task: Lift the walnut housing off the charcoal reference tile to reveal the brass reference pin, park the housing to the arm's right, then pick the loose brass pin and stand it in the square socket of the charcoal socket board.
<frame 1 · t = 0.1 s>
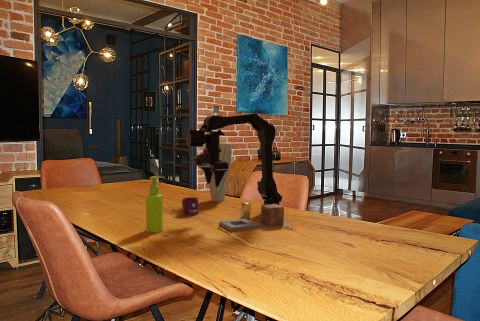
hand: (212, 185, 157), 15 cm above the table, fingers open, 9 cm apart
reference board: (272, 225, 151), on the table
vase: (218, 201, 204), on the table
socket board: (238, 228, 146), on the table
housing: (272, 223, 151), point 1 cm above the table, touching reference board
mug: (189, 213, 172), on the table
soap dispenser: (155, 230, 143), on the table
pin: (245, 219, 160), on the table
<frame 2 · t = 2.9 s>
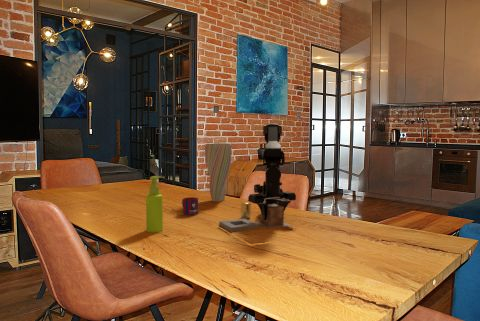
hand: (272, 219, 151), 2 cm above the table, fingers closed on housing, 6 cm apart
housing: (272, 223, 151), point 1 cm above the table, touching gripper, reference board
everything else where it was.
when the fingers open (3 cm above the table, at t = 7.6 s): housing drops 1 cm, on the table.
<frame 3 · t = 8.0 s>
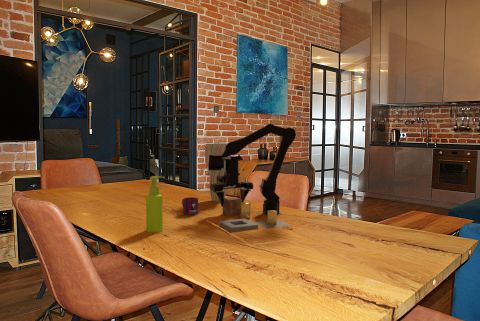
hand: (231, 205, 169), 4 cm above the table, fingers open, 9 cm apart
housing: (232, 214, 170), on the table
everything else where it was.
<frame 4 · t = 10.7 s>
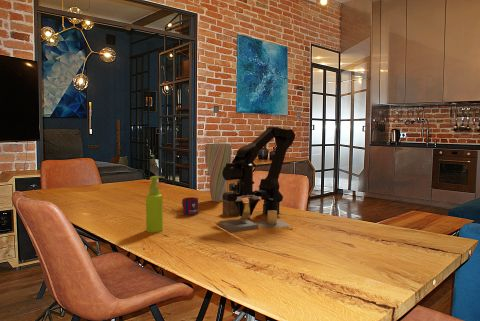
hand: (245, 215, 160), 2 cm above the table, fingers closed on pin, 4 cm apart
pin: (245, 219, 160), on the table, touching gripper
everything else where it was.
when the fingers open (3 cm above the table, at t = 14.4 s): pin drops 1 cm, resting in socket board.
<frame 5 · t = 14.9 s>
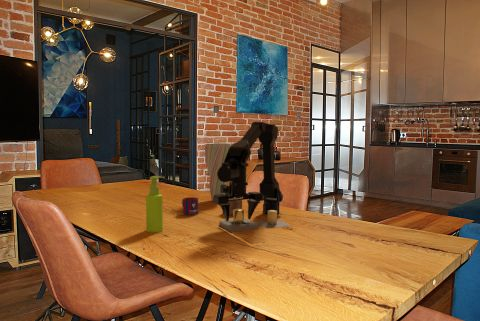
hand: (238, 220, 146), 3 cm above the table, fingers open, 9 cm apart
pin: (238, 228, 146), resting in socket board
everything else where it was.
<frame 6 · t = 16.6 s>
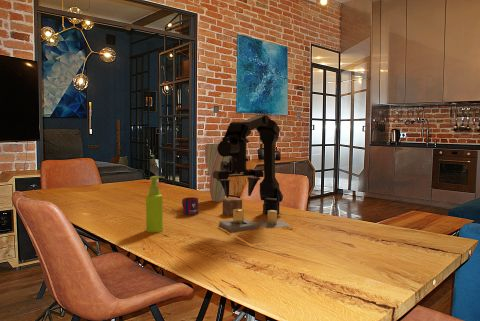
hand: (238, 196, 145), 12 cm above the table, fingers open, 9 cm apart
nothing on the table moved.
at the end: pin 0.1 cm off-centre on the socket board, point 0.0 cm above the socket board's base; pin tilted 0°; housing moved 24.6 cm from its start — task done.
